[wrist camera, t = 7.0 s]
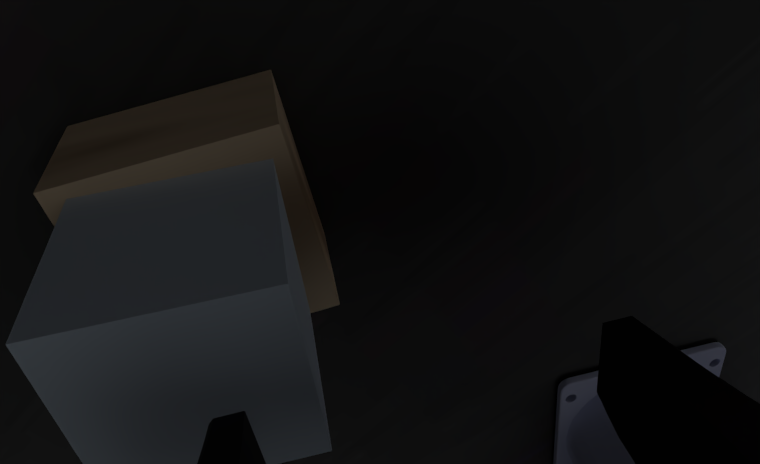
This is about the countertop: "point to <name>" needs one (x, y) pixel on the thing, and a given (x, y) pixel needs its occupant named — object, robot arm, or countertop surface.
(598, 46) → the countertop surface
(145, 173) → the oak block
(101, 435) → the blue-grey cube
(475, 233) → the countertop surface
